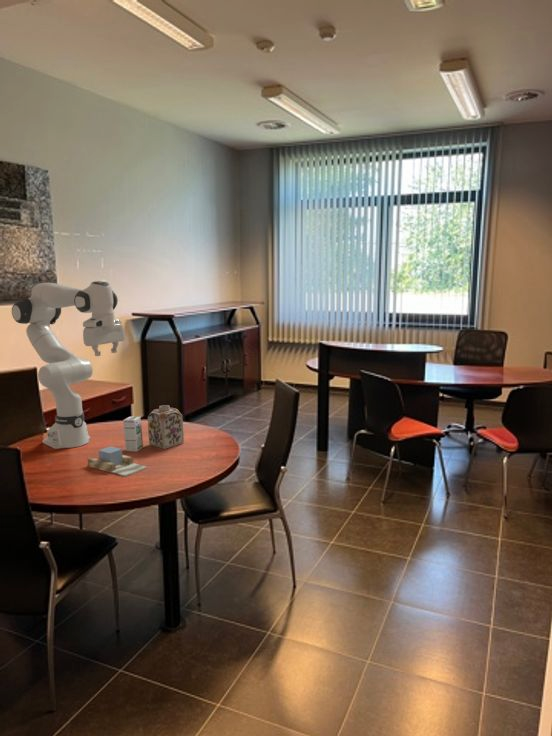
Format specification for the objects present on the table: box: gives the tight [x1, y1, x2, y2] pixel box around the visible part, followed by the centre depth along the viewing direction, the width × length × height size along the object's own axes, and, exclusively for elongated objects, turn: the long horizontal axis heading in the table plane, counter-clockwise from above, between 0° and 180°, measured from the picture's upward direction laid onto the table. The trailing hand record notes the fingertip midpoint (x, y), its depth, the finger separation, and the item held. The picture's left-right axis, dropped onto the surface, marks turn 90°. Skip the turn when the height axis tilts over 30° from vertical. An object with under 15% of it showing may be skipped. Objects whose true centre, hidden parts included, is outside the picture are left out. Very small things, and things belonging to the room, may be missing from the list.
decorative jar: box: [147, 404, 185, 450], centre depth 243 cm, size 12×12×18 cm
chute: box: [87, 454, 148, 477], centre depth 216 cm, size 23×11×3 cm, turn 56°
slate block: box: [98, 445, 123, 466], centre depth 217 cm, size 7×6×6 cm
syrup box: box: [122, 415, 144, 452], centre depth 237 cm, size 6×6×14 cm
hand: (106, 354), depth 223 cm, fingers open, 8 cm apart
